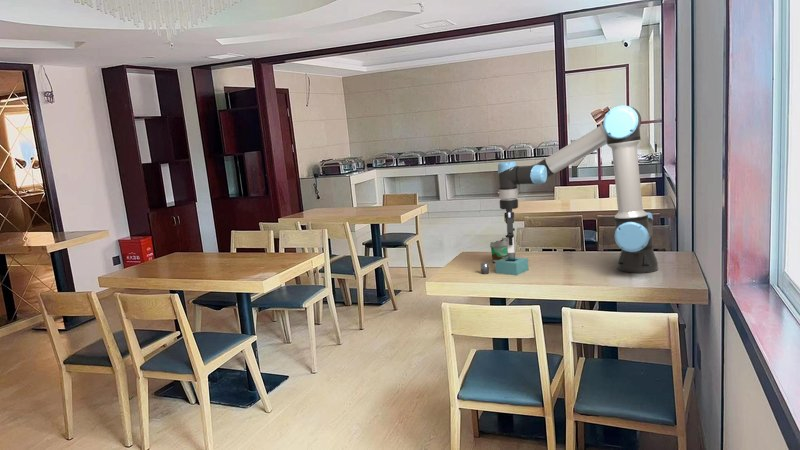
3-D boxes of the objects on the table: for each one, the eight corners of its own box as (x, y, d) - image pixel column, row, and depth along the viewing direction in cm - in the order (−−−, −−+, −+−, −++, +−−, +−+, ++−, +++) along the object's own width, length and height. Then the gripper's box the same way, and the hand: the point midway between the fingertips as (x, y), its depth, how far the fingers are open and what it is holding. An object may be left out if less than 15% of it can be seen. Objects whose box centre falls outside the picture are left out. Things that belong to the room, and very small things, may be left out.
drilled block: (528, 269, 237) (528, 258, 236) (516, 275, 230) (516, 263, 229) (507, 267, 243) (507, 256, 243) (495, 273, 236) (495, 261, 235)
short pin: (490, 272, 237) (489, 262, 237) (486, 274, 235) (485, 264, 234) (484, 272, 239) (483, 261, 239) (480, 273, 237) (479, 263, 236)
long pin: (517, 271, 237) (515, 236, 234) (513, 272, 234) (511, 237, 232) (510, 270, 239) (509, 235, 237) (506, 272, 236) (505, 237, 234)
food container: (503, 265, 249) (502, 243, 248) (491, 264, 253) (489, 242, 252) (515, 259, 259) (514, 238, 258) (503, 258, 263) (502, 237, 261)
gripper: (499, 196, 245) (502, 243, 248) (499, 203, 221) (501, 255, 224) (517, 195, 243) (519, 243, 246) (518, 202, 219) (520, 255, 222)
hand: (511, 249), depth 235 cm, fingers open, 13 cm apart
